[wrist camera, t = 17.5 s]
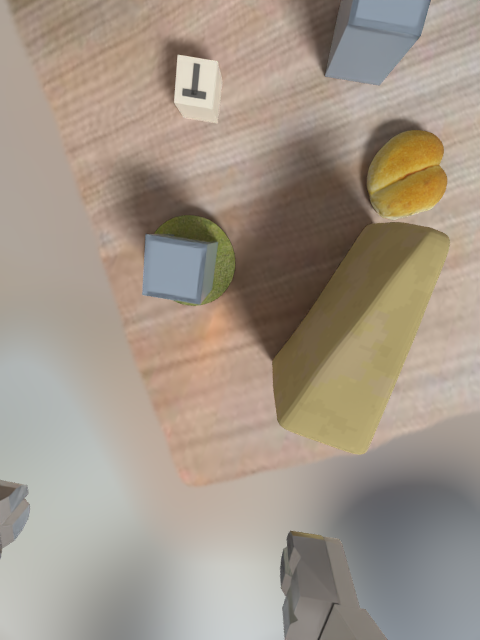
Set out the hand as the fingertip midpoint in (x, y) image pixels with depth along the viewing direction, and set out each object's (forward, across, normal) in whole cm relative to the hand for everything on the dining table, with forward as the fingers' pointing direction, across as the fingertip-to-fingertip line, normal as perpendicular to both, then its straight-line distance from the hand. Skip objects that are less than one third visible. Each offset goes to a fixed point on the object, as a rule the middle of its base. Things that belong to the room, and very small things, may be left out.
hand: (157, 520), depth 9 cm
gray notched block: (+31, -9, -29) cm, 43 cm away
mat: (+31, +6, -4) cm, 32 cm away
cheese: (+31, -13, -1) cm, 34 cm away
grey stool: (+29, +6, -4) cm, 30 cm away
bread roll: (+32, -18, -17) cm, 40 cm away
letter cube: (+31, +7, -22) cm, 39 cm away
